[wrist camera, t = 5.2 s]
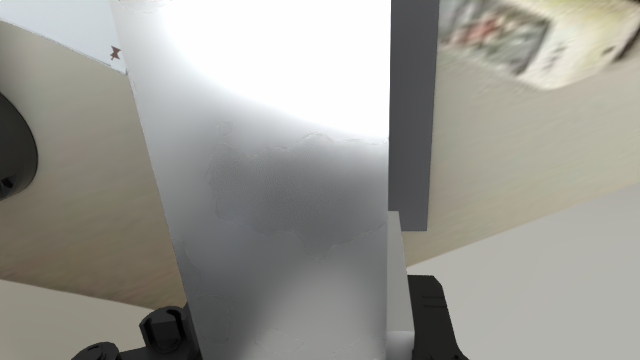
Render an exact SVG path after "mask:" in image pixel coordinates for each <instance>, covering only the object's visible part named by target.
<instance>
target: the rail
mask: <svg viewBox="0 0 640 360" xmlns="http://www.w3.org/2000/svg"><path fill="white" fill-rule="evenodd" d="M108 1H109V5H110V9H111V12H112V16H113V20H114V24H115V28H116V31H117V35H118V39H119V43H120V47H121V50H122V54H123V58H124V62H125V66H126V69H127V73H128V77H129V81H130V85H131V88H132V92H133V96H134V100H135V104H136V107H137V111H138V115H139V119H140V123H141V126H142V130H143V134H144V138H145V142H146V145H147V149H148V153H149V157H150V161H151V164H152V168H153V172H154V176H155V180H156V183H157V187H158V191H159V195H160V199H161V202H162V206H163V210H164V214H165V218H166V221H167V225H168V229H169V233H170V237H171V240H172V244H173V248H174V252H175V256H176V259H177V263H178V267H179V271H180V274H181V278H182V282H183V286H184V290H185V293H186V297H187V301H188V305H189V309H190V312H191V316H192V320H193V324H194V328H195V331H196V335H197V339H198V343H199V347H200V350H201V354H202V358H203V360H386V326H387V241H388V156H389V72H390V0H108Z"/></svg>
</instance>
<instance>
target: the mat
mask: <svg viewBox="0 0 640 360" xmlns="http://www.w3.org/2000/svg"><path fill="white" fill-rule="evenodd" d="M438 18H439V0H390V72H389V156H388V211H398V212H399V219H400V227H401V231H427V215H428V197H429V179H430V161H431V143H432V126H433V108H434V90H435V72H436V54H437V36H438Z"/></svg>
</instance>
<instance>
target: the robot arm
mask: <svg viewBox="0 0 640 360" xmlns="http://www.w3.org/2000/svg"><path fill="white" fill-rule="evenodd" d="M36 165H37V154H36V148H35V144H34V141H33V138H32V136H31V133H30V131H29V129H28V127H27V125H26V124H25V122H24V120H23V119H22V117H21V116H20V114H19V113H18V112H17V111H16V109H15V108H14V107H13V106H12V105H11V104H10V103H9V102H8V101H7V100H6V99H5V98H4V97H3V96H2V95H1V94H0V201H1V200H4V199H6V198H8V197H10V196H12V195H14V194H16V193H18V192H20V191H21V190H23V189H24V188H26V187H27V186H28V185H29V183H30V182H31V181H32V179H33V177H34V174H35V171H36ZM139 327H140V330H141V332H142V335H143V339H144V342H145V344H146V346H145V347H142V348H138V349H134V350H129V351H124V352H119V350H118V348H117V347H116V345H115V344H114V343H110V342H100V343H96V344H94V345H91V346H88V347H87V348H85V349H83V350H82V351H80V352H79V353H78V354H77V355H76V356H75V357H74V358H72V359H71V360H203V358H202V354H201V350H200V347H199V343H198V339H197V335H196V331H195V328H194V324H193V320H192V316H191V312H190V309H189V305H188V301H187V303H186V305H185V306H184V308H183V309H182V308H180V307H177V306H167V307H163V308H159V309H157V310H155V311H153V312H151V313H150V314H149V315H147V316H146V317H145V318H144V319H143V320H142V322H141V323H140V324H139ZM386 360H469V359H468V358H467V357H465V356H464V355H463V354H462V352H461V351H460V349H459V347H458V345H457V343H456V339H455V335H454V331H453V327H452V323H451V319H450V315H449V312H448V308H447V304H446V300H445V296H444V292H443V288H442V285H441V284H440V283H439V282H438V281H437V280H436V278H435V277H434V276H429V275H428V276H427V275H407V271H406V264H405V256H404V249H403V241H402V234H401V227H400V219H399V212H398V211H388V241H387V326H386Z"/></svg>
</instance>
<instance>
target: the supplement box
mask: <svg viewBox="0 0 640 360" xmlns="http://www.w3.org/2000/svg"><path fill="white" fill-rule="evenodd" d="M0 20H2V21H5V22H7V23H10V24H12V25H14V26H17V27H19V28H22V29H24V30H27V31H29V32H31V33H34V34H36V35H39V36H41V37H43V38H46V39H48V40H50V41H53V42H55V43H57V44H60V45H62V46H64V47H66V48H69V49H71V50H73V51H75V52H77V53H80V54H82V55H84V56H86V57H88V58H91V59H93V60H95V61H97V62H99V63H101V64H104V65H106V66H108V67H110V68H112V69H114V70H116V71H118V72H120V73H121V74H124V75H128V73H127V69H126V66H125V62H124V58H123V54H122V50H121V47H120V43H119V39H118V35H117V31H116V28H115V24H114V20H113V16H112V12H111V9H110V5H109V1H108V0H0Z"/></svg>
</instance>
